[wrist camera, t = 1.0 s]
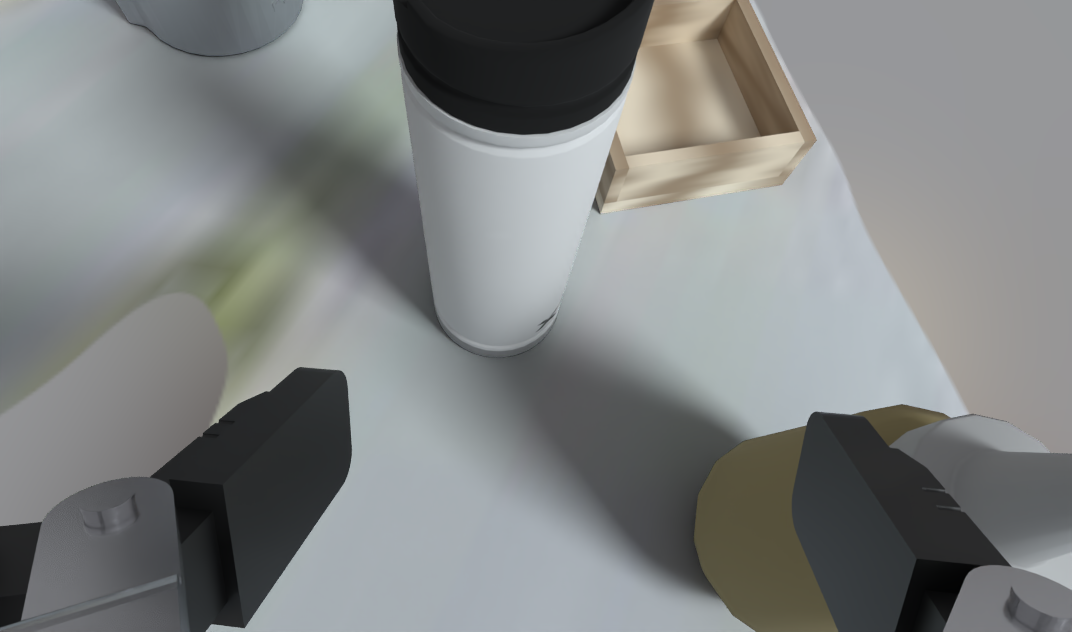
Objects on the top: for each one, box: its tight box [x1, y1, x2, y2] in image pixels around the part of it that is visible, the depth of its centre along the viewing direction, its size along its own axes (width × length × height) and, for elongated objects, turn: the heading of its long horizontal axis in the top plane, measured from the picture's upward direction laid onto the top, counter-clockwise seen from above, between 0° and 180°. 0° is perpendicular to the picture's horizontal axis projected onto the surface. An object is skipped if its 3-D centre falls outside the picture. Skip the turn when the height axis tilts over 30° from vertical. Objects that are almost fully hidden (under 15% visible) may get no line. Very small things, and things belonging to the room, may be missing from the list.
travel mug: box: [393, 0, 654, 358], centre depth 22 cm, size 6×7×20 cm
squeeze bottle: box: [694, 404, 1072, 632], centre depth 20 cm, size 8×8×18 cm
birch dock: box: [595, 0, 817, 214], centre depth 35 cm, size 11×11×4 cm
